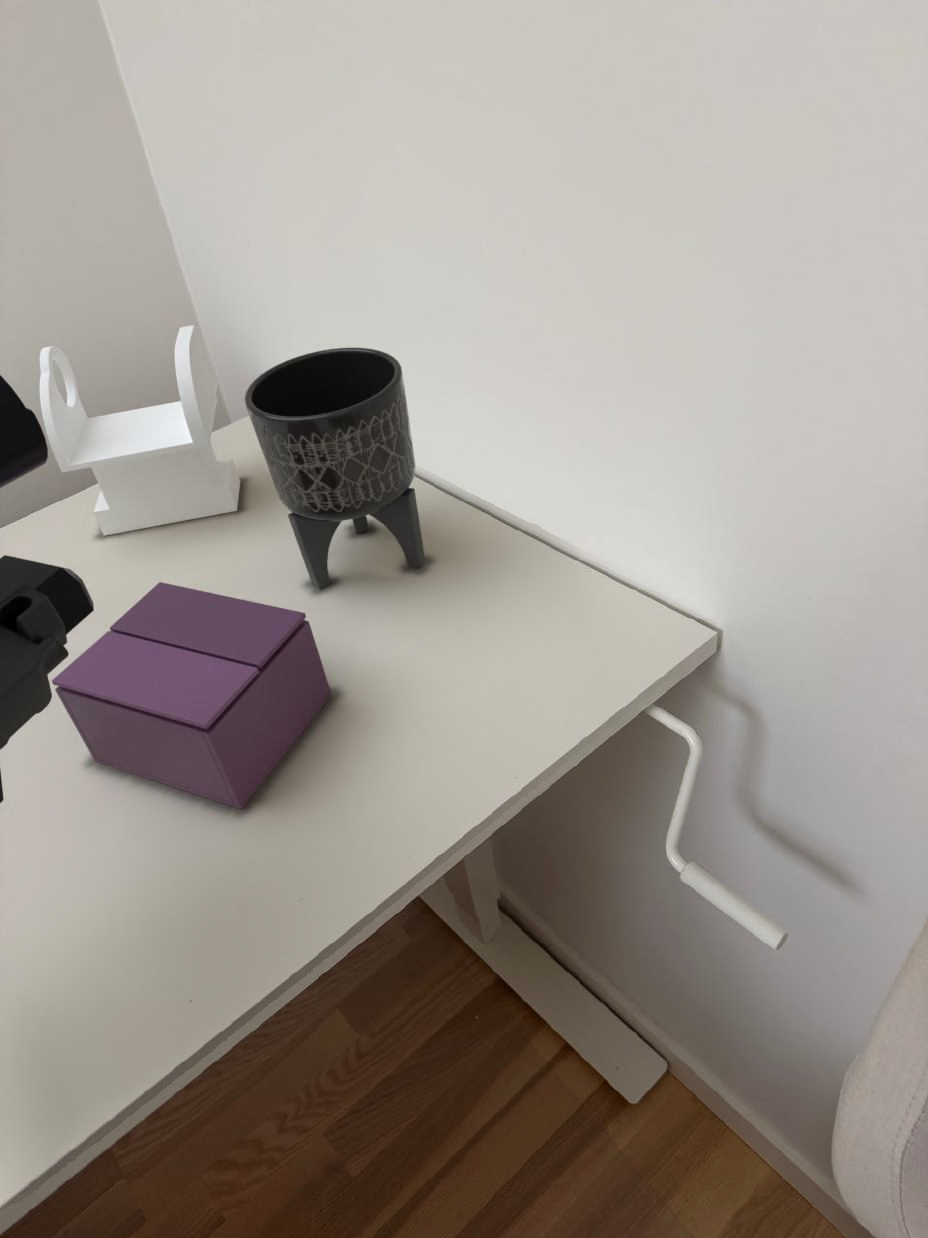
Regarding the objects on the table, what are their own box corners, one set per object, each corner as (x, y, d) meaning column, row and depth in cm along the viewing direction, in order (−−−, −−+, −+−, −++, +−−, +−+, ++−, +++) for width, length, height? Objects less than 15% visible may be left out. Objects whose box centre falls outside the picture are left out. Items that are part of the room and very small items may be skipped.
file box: (241, 809, 66) (204, 726, 61) (94, 761, 72) (49, 681, 67) (331, 695, 74) (306, 612, 69) (192, 659, 80) (159, 581, 75)
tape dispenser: (97, 550, 96) (21, 384, 85) (118, 486, 106) (52, 330, 95) (236, 524, 96) (178, 355, 85) (243, 462, 106) (192, 304, 95)
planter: (295, 535, 93) (244, 364, 82) (425, 508, 94) (392, 335, 83) (299, 614, 83) (242, 432, 72) (445, 583, 84) (410, 398, 72)
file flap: (206, 729, 62) (205, 725, 61) (53, 684, 67) (51, 680, 67) (259, 672, 66) (258, 667, 65) (110, 634, 71) (108, 630, 71)
